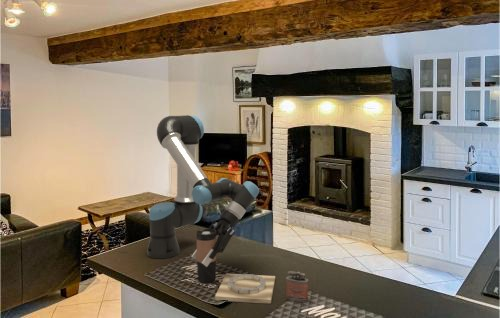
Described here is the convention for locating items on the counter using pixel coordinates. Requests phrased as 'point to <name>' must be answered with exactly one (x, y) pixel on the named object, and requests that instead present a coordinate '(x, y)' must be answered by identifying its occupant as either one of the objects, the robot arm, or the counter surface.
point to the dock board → (259, 297)
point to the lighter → (297, 287)
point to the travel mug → (204, 245)
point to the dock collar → (246, 290)
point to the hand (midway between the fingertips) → (198, 261)
